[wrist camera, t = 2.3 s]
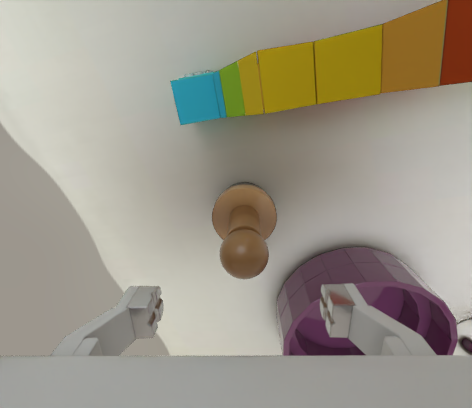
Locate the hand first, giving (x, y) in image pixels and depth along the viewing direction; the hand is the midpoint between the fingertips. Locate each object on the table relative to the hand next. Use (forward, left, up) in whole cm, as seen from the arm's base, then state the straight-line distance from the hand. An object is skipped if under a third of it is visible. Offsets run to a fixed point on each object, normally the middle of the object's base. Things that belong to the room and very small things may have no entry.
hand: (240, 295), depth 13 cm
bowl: (+11, +10, -11) cm, 18 cm away
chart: (-11, +11, -11) cm, 20 cm away
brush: (0, 0, -11) cm, 11 cm away
